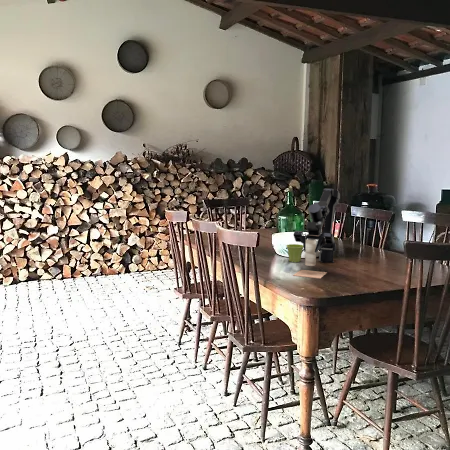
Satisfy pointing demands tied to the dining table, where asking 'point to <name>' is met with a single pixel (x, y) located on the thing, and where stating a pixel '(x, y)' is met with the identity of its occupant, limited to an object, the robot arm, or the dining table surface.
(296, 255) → the plant pot
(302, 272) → the placemat
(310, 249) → the white cylinder
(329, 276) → the dining table surface
